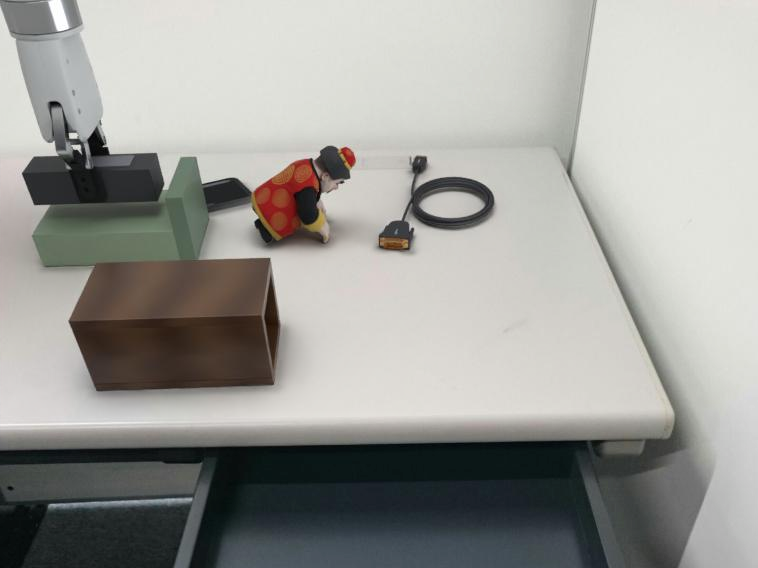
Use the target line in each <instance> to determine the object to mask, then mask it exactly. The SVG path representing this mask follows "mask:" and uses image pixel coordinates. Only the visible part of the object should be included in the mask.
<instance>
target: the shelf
mask: <svg viewBox="0 0 758 568" xmlns="http://www.w3.org/2000/svg"><path fill="white" fill-rule="evenodd" d="M272 266H273V264H272V258H271V257H244V258H241V257H240V258H212V259H211V258H209V259H208V258H207V259H197V260H174V261H140V262H106V263H96V264H95V265H93V268H92V270H91V272H90V274H89V275H88V279H87V280H86V283H85V285H84V287H83V289H82V291H81V294H80V295H79V297H78V300H77V302H76V304H75V306H74V308H73V310H72V312H71V315H70V317H69V318H68V323H69V326H70V329H71V332H72V333H73V336H74V339H75V341H76V343H77V346H78V350H79V351H80V353H81V356H82V358H83V359H82V360H83V361H84V364H85V366H86V369H87V370H88V374H89V376H90V379H91V381H92V383H93V386H94V388H95V392H96V391H98V392H99V391H100V392H101V391H127V390H153V389H154V390H155V389H156V390H157V389H182V388H183V389H186V388H210V387H212V388H213V387H215V388H216V387H242V386H243V387H244V386H272V385H274V384H275V376H276V368H277V361H278V360H277V359H278V351H279V345H280V343H279V342H280V335H281V328H282V327H281V326H282V323H281V318H280V311H279V305H278V297H277V292H276V285H275V278H274V272H273V267H272Z"/></svg>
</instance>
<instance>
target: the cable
mask: <svg viewBox="0 0 758 568" xmlns="http://www.w3.org/2000/svg"><path fill="white" fill-rule="evenodd" d="M427 163H428V156H427V155H422V154H417V155H415V156H414V158H413V161H412V163H411V168H412V171H413V172H414V176H413V178H412V183H411V188H410V190H411V191H410V193H411V197H410V199H409V201H408V203H407V205H406V208H405V210H404V212H403V215H402V218H401V220H400V219H399V220H397V219H396V220H392V221H390V222H389V223H388V225H387V224H386V225H385V227H384V229H383V231H381V232H380V233H379V235H378V247H379V248H384V249H396V250H410V249H411V242H412V238H413V236H414V233H415V227H410V223H409V222H408V221H406V217H407V215H408V212H409V209H410V208H411V211H412V214H414V216H415V217H416V218H418V220H420V221H422V222H424V223H426V224H429V225H433V226H437V227H445V228H448V227H450V228H451V227H462V226H466V225H470V224H473V223H476V222H478V221H480V220H482V219H484V218H485V217H487V216H488V214H490V213H491V212H492V210H493V209H494V206H495V201H496V200H495V196H494V193H493V191H492V190H491V189H490V188H489V186H487V185H486V184H484V183H482V182H481V181H478V180H476V179H473V178H468V177H463V176H444V177H438V178H434V179H431V180H430V179H429V180H428V181H426V182H423V183H422V184H420V185H419V186H417V187H416V188H415V184H416V180H417V177H418V173H421V172H422V171H423V170H424V169H425V167H426V165H427ZM445 188H460V189H461V188H462V189H467V190H470V191H473V192H475V193H477V194H479V195H480V196H481V197H482V198H483V200H484V203H485V204H484V206H483V207H482V208H481V209H480V210H478V211H477V212H475V213H472V214H470V215H466V216H460V217H442V216H438V215H433V214H430V213H428V212H426V211H424V210H423V208H422V207H420V205H419V202H420V200H421V198H422V197H423V196H425V195H426V194H428V193H430V192H433V191H435V190H439V189H445Z"/></svg>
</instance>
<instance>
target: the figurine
mask: <svg viewBox="0 0 758 568" xmlns="http://www.w3.org/2000/svg"><path fill="white" fill-rule="evenodd" d="M356 163H357V159H356V156H355V152H354V151H353V150H352V149H351V148H350V147H348V146H344V147H341V148H338V147H337V146H334V145H326V146H324V148H322V149H320V150H319V156H318V157H317V158H316V159H313V157H310V158H302V159H297V160H295V161H293V162H291V163H290V164H289V165H287V166H286V167H285V168H284V169H282V171H280V172H278V173H277V174H275V175H274V176H272V177H270V178H269V179H267V180H266V181H265V182H263V183H262V184H260V185H259V186H257V187H256V188H255V189H254V190H253V191H251V192H252V193H251V209H252V211H253V212H254V213H255V214H256V216H257V217H258V218H256V219H255V220H254V221H253V224H254V227H255V229H256V230H258V233H259V235H260V238H261V239H262V240H263V242H264V243H265V244H267V245H269V244H270V243H271V242H273V241H274V240H275V241H282V239H285V238H286V237H288V236H290V235H292V234H294V233H295V232H296V231H297V230H298V229H299V228H301V226H303V227H304V228H306V229H307V230H309V231H310V232H318V233H319V234H320V235H321V236H322V238H323V239H322V242H323V243H325V244H326V243H327V242H328V241H329V240H330V239H329V238H330V234H331V233H330V231H331V229H330V228H331V227H330V224H329V222H328V220H327V219H326V217H327V209H326V208H325V205H324V203H323V200H322V199H321V197H322V194H324V193H325V195H326V194H329V193H330V192H332V191H336V190H337V191H338V190H339V185H343V184H345V183H346V182H345V181H347V180H351V169H353V167H355V166H356Z"/></svg>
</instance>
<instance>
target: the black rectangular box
mask: <svg viewBox="0 0 758 568" xmlns="http://www.w3.org/2000/svg"><path fill="white" fill-rule="evenodd" d="M91 159H92V163H93V166H97V169H98V172H99V175H100V178H101V182H102V185H103V188H104V191H105V194H106V198H107V199H106V201H105V202H104V203H127V202H158V200H159V197H160V195H161V192H162V190H164V187H165V183H166V182H165V180H164V175H163V172H162V168H161V164H160V159H159V156H158V152H137V153H110V154H101V155H91ZM21 176H22V178H23V181H24V183H25V187H26V189H27V192H28V193H29V197H30V198H31V200H32V203H33V206H50V205H63V204H95V203H81V202H80V201H79V199H78V196H77V193H76V191H75V188H74V185H73V182H72V179H71V176H70V173H69V170H67V168H66V165H65V162H64V160H63V159H62V158H61V157H60V156H59V155H39V156H37V155H36V156H32V158H31V160H30V161H29V162H28V164H27V165H26V166H25V168H24V170H23V171H21Z"/></svg>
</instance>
